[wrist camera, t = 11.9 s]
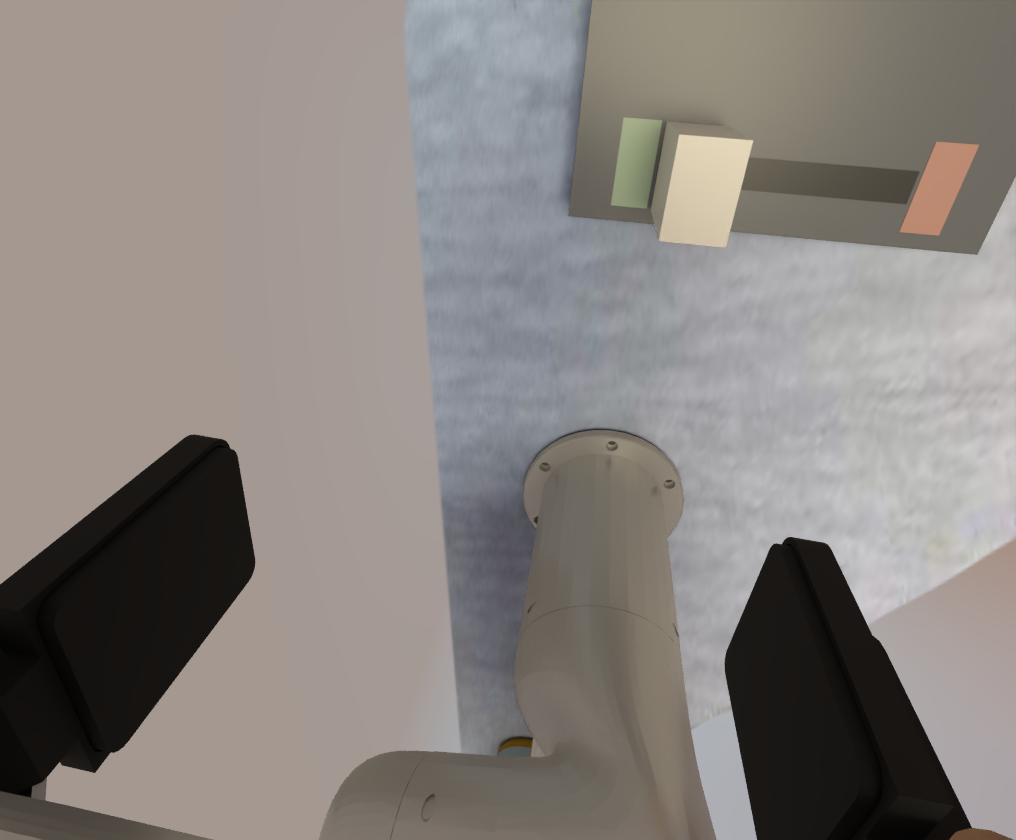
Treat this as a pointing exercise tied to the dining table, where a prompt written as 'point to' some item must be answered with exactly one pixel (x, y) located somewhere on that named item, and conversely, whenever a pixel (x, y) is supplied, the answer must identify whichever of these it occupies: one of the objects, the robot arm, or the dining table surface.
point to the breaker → (699, 183)
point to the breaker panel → (810, 112)
